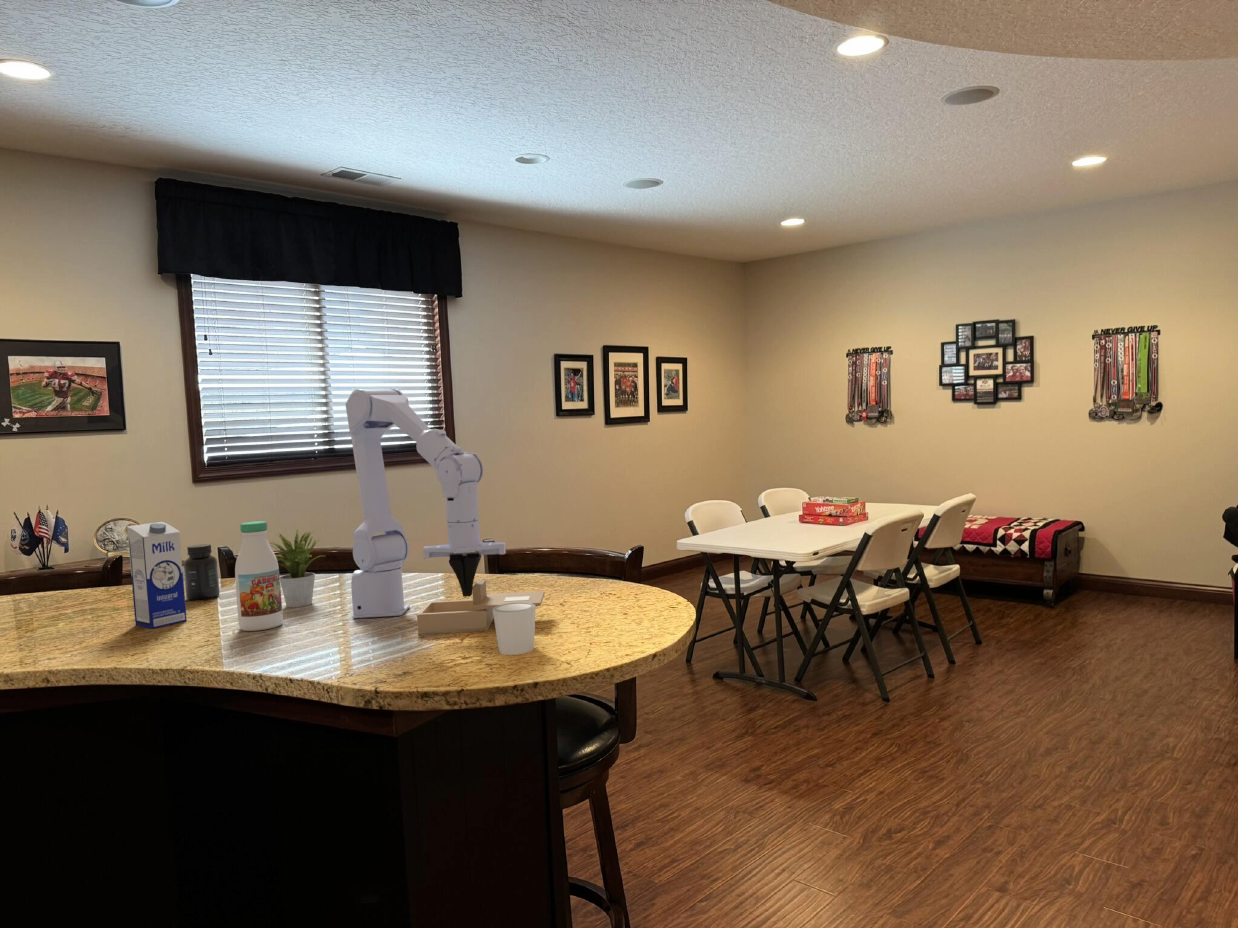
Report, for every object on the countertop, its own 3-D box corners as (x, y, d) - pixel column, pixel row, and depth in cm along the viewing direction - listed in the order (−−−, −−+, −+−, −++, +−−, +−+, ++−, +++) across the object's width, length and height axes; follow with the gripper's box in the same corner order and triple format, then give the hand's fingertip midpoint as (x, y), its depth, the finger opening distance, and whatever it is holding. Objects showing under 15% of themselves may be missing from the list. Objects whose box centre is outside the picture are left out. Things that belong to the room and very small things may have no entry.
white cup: (501, 658, 129) (498, 613, 128) (490, 648, 135) (487, 605, 135) (543, 651, 132) (541, 607, 131) (530, 641, 138) (528, 599, 137)
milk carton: (170, 617, 171) (162, 520, 169) (187, 620, 167) (179, 521, 166) (134, 625, 165) (125, 525, 164) (151, 629, 161) (142, 526, 160)
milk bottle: (229, 631, 156) (221, 525, 155) (260, 620, 163) (252, 519, 162) (262, 632, 153) (254, 525, 152) (292, 622, 160) (284, 519, 159)
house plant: (281, 597, 186) (276, 524, 185) (343, 594, 185) (338, 521, 184) (251, 612, 171) (245, 533, 170) (318, 609, 171) (312, 530, 170)
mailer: (418, 634, 146) (416, 614, 146) (429, 620, 156) (428, 601, 156) (486, 630, 146) (485, 610, 146) (493, 617, 156) (492, 598, 156)
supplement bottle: (179, 601, 187) (175, 548, 187) (202, 594, 194) (198, 543, 193) (203, 601, 185) (199, 548, 185) (226, 594, 192) (222, 543, 191)
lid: (472, 609, 146) (470, 589, 146) (480, 597, 156) (479, 578, 156) (540, 606, 146) (539, 585, 146) (544, 594, 156) (543, 575, 156)
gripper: (417, 525, 146) (422, 602, 147) (500, 521, 146) (505, 597, 147) (426, 520, 153) (430, 593, 154) (505, 516, 153) (509, 589, 154)
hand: (467, 595), depth 151 cm, fingers closed
